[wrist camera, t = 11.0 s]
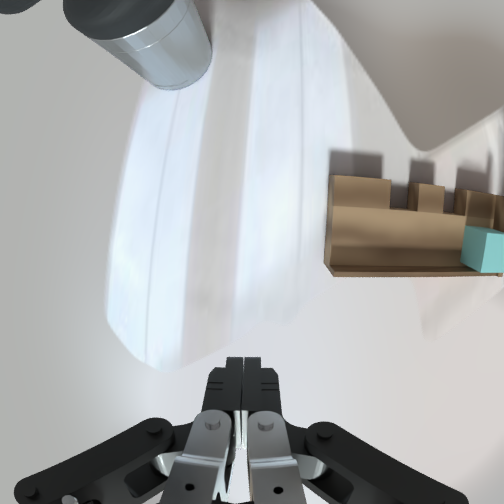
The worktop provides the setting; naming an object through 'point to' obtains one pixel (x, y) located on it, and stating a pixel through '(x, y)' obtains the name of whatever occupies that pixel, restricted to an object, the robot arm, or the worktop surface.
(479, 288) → the worktop surface
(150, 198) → the worktop surface
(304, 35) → the worktop surface
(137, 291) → the worktop surface
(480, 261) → the teal block
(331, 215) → the walnut tray
